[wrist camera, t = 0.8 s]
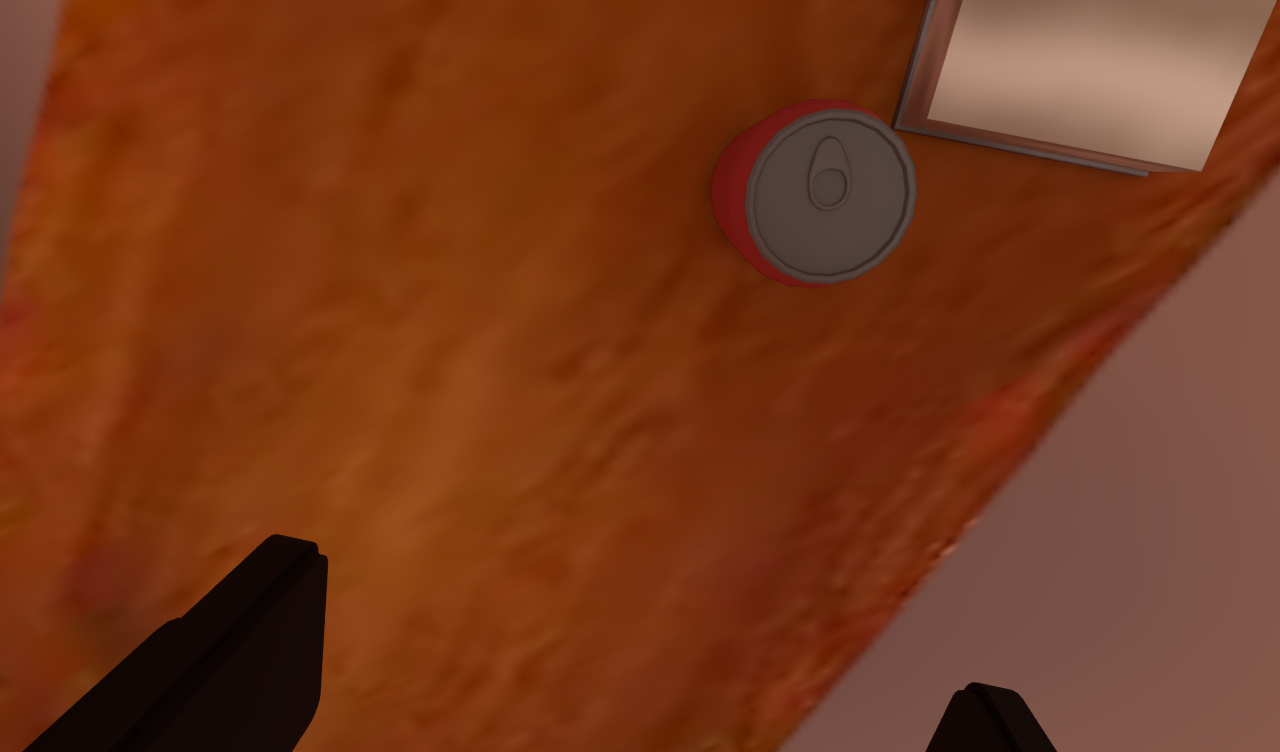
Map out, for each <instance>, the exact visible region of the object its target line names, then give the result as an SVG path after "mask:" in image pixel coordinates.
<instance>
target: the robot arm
mask: <svg viewBox="0 0 1280 752" xmlns="http://www.w3.org/2000/svg"><path fill="white" fill-rule="evenodd" d="M327 574H328V559H327V556H325V555H321V554H319V552H318V546H317V544H316V543H314V542H311V541H307V540H302V539H297V538H293V537H288V536H283V535H278V534H275V535H271V536H270V537H268V538H267V539H266V540H265V541H264V542H263V543H261V544H260V545H259V546H258V547H257V548H256V549H255V550H254V551H253V552H252V553H251V554H250V555H249V556H247V557H246V558H245V559H244V560H243V561H242V562H241V563H240V564H239V565H238V566H237V567H236V568H234V569H233V570H232V571H231V572H230V573H229V574H228V575H227V576H226V577H225V578H224V579H223V580H222V581H220V582H219V583H218V584H217V585H216V586H215V587H214V588H213V589H212V590H211V591H210V592H209V593H208V594H206V595H205V596H204V597H203V598H202V599H201V600H200V601H199V602H198V603H197V604H196V605H195V606H194V607H192V608H191V609H190V610H189V611H188V612H187V613H186V614H185V615H184V616H183V617H182V618H176V619H174V620H171V621H168V622H167V623H165V624H164V625H163V626H161V627H160V628H159V629H157V630H156V631H155V632H154V633H153V634H152V635H150V636H149V637H148V638H147V639H146V640H145V641H144V642H143V643H142V644H140V645H139V646H138V647H137V648H136V649H135V650H134V651H133V652H132V653H131V654H129V655H128V656H127V657H126V658H125V659H124V660H123V661H122V662H121V663H120V664H118V665H117V666H116V667H115V668H114V669H113V670H112V671H111V672H110V673H108V674H107V675H106V676H105V677H104V678H103V679H102V680H101V681H100V682H99V683H97V684H96V685H95V686H94V687H93V688H92V689H91V690H90V691H89V692H88V693H86V694H85V695H84V696H83V697H82V698H81V699H80V700H79V701H78V702H77V703H75V704H74V705H73V706H72V707H71V708H70V709H69V710H68V711H67V712H65V713H64V714H63V715H62V716H61V717H60V718H59V719H58V720H57V721H56V722H54V723H53V724H52V725H51V726H50V727H49V728H48V729H47V730H46V731H45V732H43V733H42V734H41V735H40V736H39V737H38V738H37V739H36V740H35V741H33V742H32V743H31V744H30V745H29V746H28V747H27V748H26V749H25V750H24V751H22V752H292V751H293V749H294V748H295V746H296V745H297V743H298V742H299V740H300V738H301V737H302V735H303V734H304V732H305V731H306V729H307V728H308V726H309V724H310V723H311V721H312V719H313V717H314V715H315V713H316V710H317V707H318V704H319V700H320V694H321V678H322V660H323V643H324V626H325V609H326V591H327ZM925 752H1057V751H1056V749H1055V748H1054V746H1053V745H1052V743H1051V742H1050V740H1049V739H1048V737H1047V735H1046V734H1045V732H1044V731H1043V729H1042V728H1041V726H1040V725H1039V723H1038V722H1037V720H1036V719H1035V717H1034V715H1033V714H1032V712H1031V711H1030V709H1029V708H1028V706H1027V705H1026V703H1025V701H1024V700H1023V699H1022V697H1020V695H1019V694H1018V693H1016V692H1015V691H1013V690H1010V689H1005V688H1001V687H996V686H991V685H986V684H982V683H975V682H972V683H970V684H969V685H967V686H966V688H965V689H964V690H958V691H957V692H955V694H954V695H953V697H952V699H951V701H950V703H949V705H948V707H947V709H946V711H945V713H944V715H943V717H942V719H941V721H940V723H939V725H938V727H937V729H936V731H935V733H934V735H933V737H932V739H931V741H930V743H929V745H928V747H927V750H926V751H925Z"/></svg>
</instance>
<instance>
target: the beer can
mask: <svg viewBox="0 0 1280 752" xmlns="http://www.w3.org/2000/svg"><path fill="white" fill-rule="evenodd" d="M917 192H918V191H917V183H916V174H915V166H914V163H913V161H912V159H911V157H910V155H909V152H908V150H907V148H906V146H905V144H904V142H903V140H902V139H901V138H900V137H899V136H898V135H897V134H896V133H895V132H894V131H893V130H892V129H891V128H890V127H889V126H887V125H886V124H885V123H884V122H883V121H882V120H881V119H880V118H879V117H878V116H877V115H876V114H874V113H873V112H870V111H868V110H866V109H864V108H861V107H859V106H857V105H854V104H852V103H850V102H848V101H844V100H829V99H812V100H808V101H805V102H801V103H797V104H794V105H790V106H787V107H784V108H783V109H781V110H779V111H777V112H776V113H774V114H772V115H771V116H769V117H767V118H766V119H764V120H762V121H760V122H759V123H757V124H755V125H754V126H752V127H751V128H749V129H748V130H746V131H744V132H743V133H741V134H740V135H738V136H737V137H735V138H734V140H733V141H732V142H731V143H730V145H729V146H728V147H727V148H726V149H725V151H724V152H723V153H722V154H721V156H720V159H719V161H718V163H717V166H716V168H715V171H714V173H713V176H712V186H711V201H712V206H713V211H714V216H715V218H716V220H717V222H718V224H719V225H720V227H721V229H722V230H723V232H724V234H725V235H726V237H727V238H728V239H729V240H730V242H731V243H732V244H733V245H734V246H735V248H736V249H737V250H738V251H739V253H740V254H741V255H742V256H743V257H744V258H745V259H746V260H747V261H748V262H749V263H750V264H751V265H753V266H754V267H755V268H756V269H757V270H758V271H759V272H761V273H762V274H763V275H764V276H766V277H769V278H771V279H773V280H776V281H778V282H781V283H783V284H786V285H788V286H796V287H809V288H820V287H824V286H828V285H833V284H837V283H841V282H845V281H849V280H851V279H855V278H857V277H859V276H861V275H863V274H864V273H866V272H868V271H870V270H871V269H873V268H875V267H877V266H878V265H880V264H881V263H882V262H883V261H884V260H885V259H886V258H887V257H888V256H889V255H890V253H891V252H892V251H893V250H894V249H895V248H896V247H897V246H898V245H899V244H900V242H901V240H902V238H903V236H904V234H905V232H906V230H907V229H908V227H909V225H910V223H911V221H912V218H913V213H914V208H915V203H916V198H917Z"/></svg>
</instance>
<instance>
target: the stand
mask: <svg viewBox="0 0 1280 752" xmlns="http://www.w3.org/2000/svg"><path fill="white" fill-rule="evenodd" d="M1276 1H1277V0H927V3H926V7H925V10H924V14H923V17H922V21H921V24H920V28H919V31H918V35H917V38H916V42H915V45H914V49H913V52H912V56H911V59H910V63H909V66H908V69H907V73H906V76H905V80H904V83H903V87H902V90H901V94H900V97H899V101H898V104H897V108H896V111H895V115H894V118H893V122H892V125H891V129H893V130H899V131H904V132H909V133H914V134H919V135H925V136H930V137H935V138H940V139H945V140H951V141H956V142H961V143H966V144H971V145H977V146H982V147H987V148H992V149H998V150H1003V151H1008V152H1013V153H1018V154H1024V155H1029V156H1034V157H1039V158H1044V159H1050V160H1055V161H1060V162H1065V163H1070V164H1076V165H1081V166H1086V167H1091V168H1096V169H1102V170H1107V171H1112V172H1117V173H1122V174H1128V175H1133V176H1138V177H1147V176H1148V174H1149V172H1183V171H1202V169H1203V167H1204V164H1205V162H1206V160H1207V158H1208V155H1209V153H1210V151H1211V148H1212V146H1213V144H1214V142H1215V139H1216V137H1217V135H1218V133H1219V130H1220V128H1221V126H1222V124H1223V121H1224V119H1225V117H1226V114H1227V112H1228V110H1229V108H1230V105H1231V103H1232V101H1233V99H1234V96H1235V94H1236V92H1237V89H1238V87H1239V85H1240V83H1241V80H1242V78H1243V76H1244V74H1245V71H1246V69H1247V67H1248V65H1249V62H1250V60H1251V58H1252V55H1253V53H1254V51H1255V49H1256V46H1257V44H1258V42H1259V40H1260V37H1261V35H1262V33H1263V30H1264V28H1265V26H1266V24H1267V21H1268V19H1269V17H1270V15H1271V12H1272V10H1273V8H1274V6H1275V3H1276Z"/></svg>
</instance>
